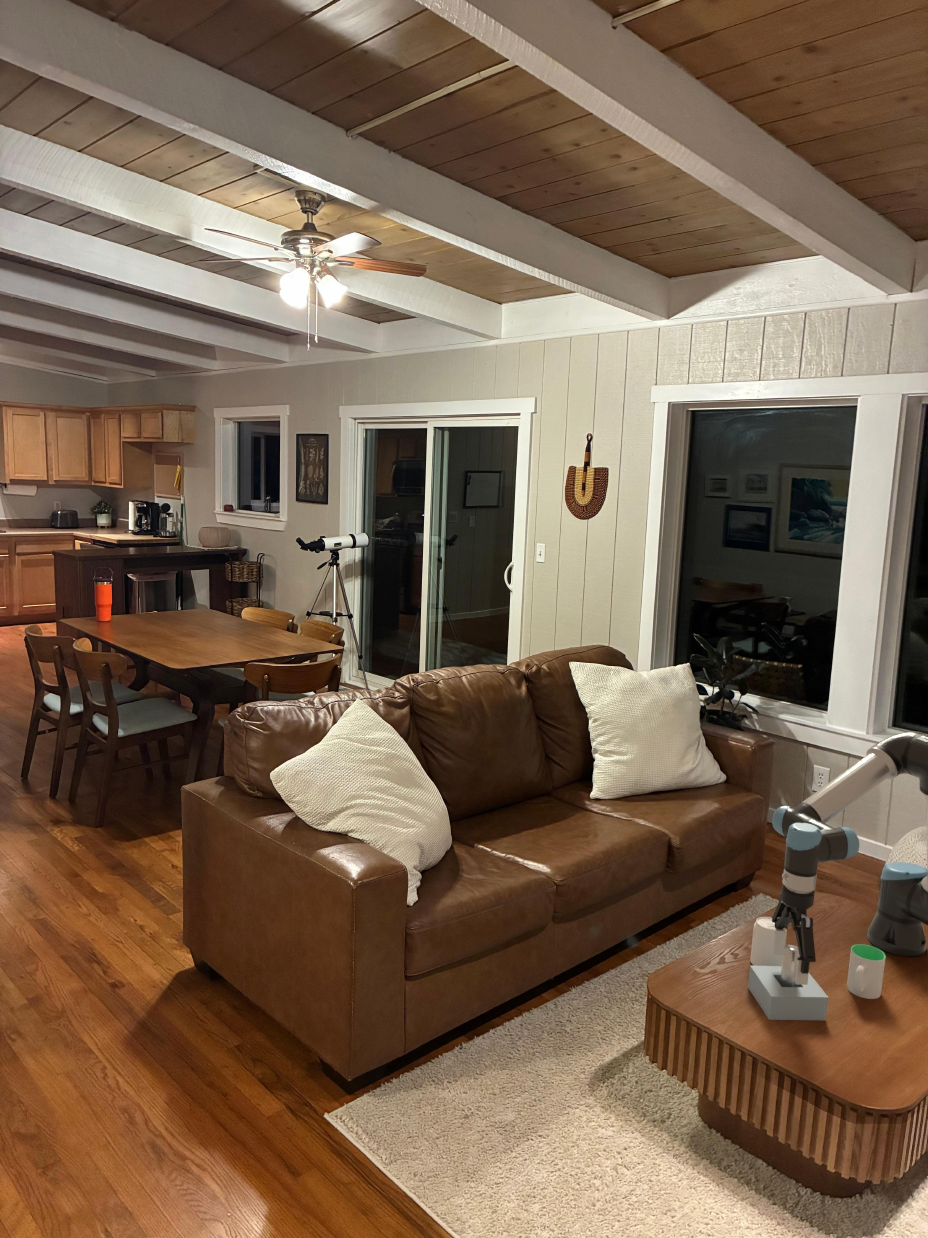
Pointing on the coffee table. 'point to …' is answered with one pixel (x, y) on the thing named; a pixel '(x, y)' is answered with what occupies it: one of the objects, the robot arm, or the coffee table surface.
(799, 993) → the socket block
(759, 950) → the beverage can
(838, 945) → the coffee table surface
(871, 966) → the mug
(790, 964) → the peg
